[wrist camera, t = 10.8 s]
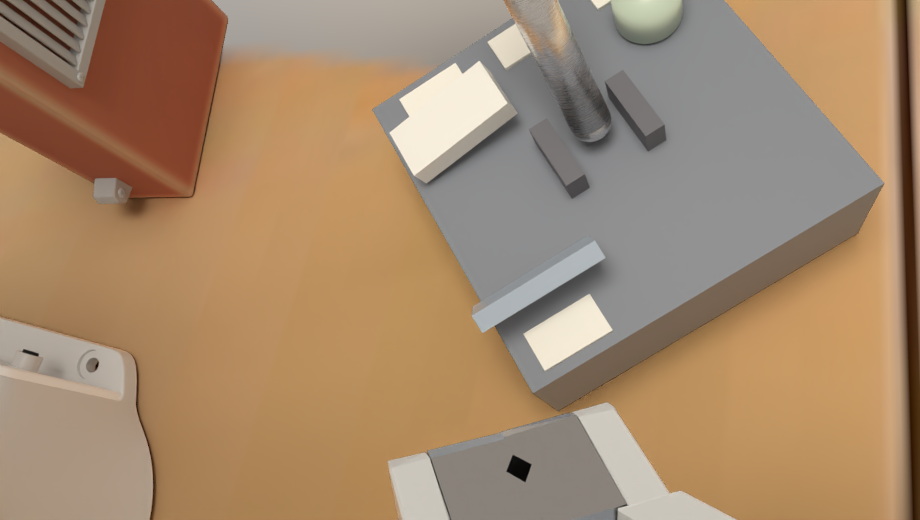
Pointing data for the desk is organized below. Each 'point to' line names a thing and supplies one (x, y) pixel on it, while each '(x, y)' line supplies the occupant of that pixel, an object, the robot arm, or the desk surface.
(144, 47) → the orange box
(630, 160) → the console
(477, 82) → the block
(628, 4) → the button
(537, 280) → the grey bar
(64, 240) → the desk surface
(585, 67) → the lever
